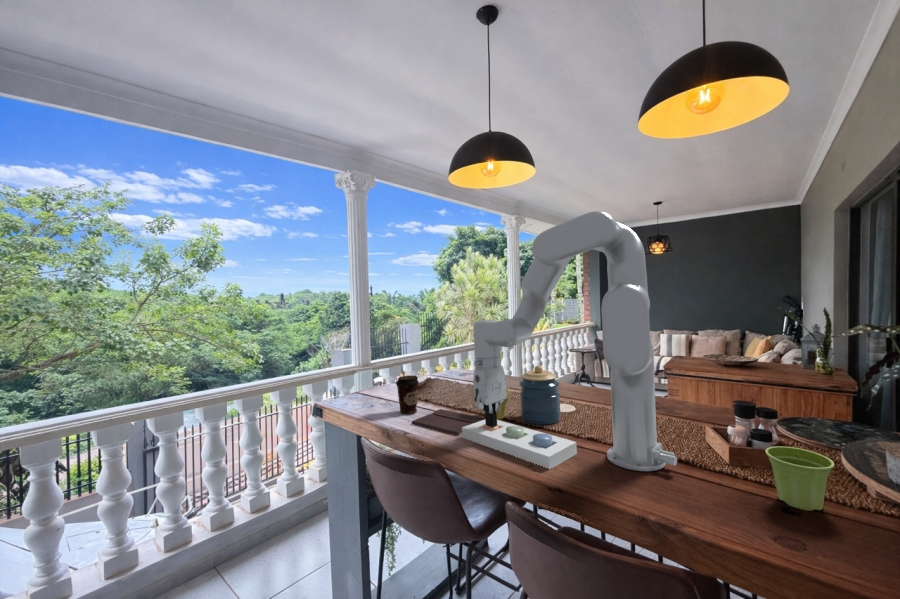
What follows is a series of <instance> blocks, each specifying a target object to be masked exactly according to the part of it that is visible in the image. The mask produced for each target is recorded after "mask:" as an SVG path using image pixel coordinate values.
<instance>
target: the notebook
mask: <svg viewBox="0 0 900 599" xmlns="http://www.w3.org/2000/svg"><path fill="white" fill-rule="evenodd" d="M482 420H485V417H482V416H477V415H472V414H466V413H463V412H457V411H453V410H446V409H442V408H439V409H437V410H435V411H434V412H431V413H429V414H426V415H423V416H421V417H419V418H416V419H414V420H412V421H411V425H413V424H414V426H418V427H421V428H426V429H428V428H429V430H432V429H433V430H432V431H436V430H437V431H436V432H441V433H444V434H449V435H452V434H453V435H452V436H456V435H457V436H456V437H459V436H461V435H462V427H465V426H468V425H471V424H473V423H476V422H479V421H482ZM460 434H461V435H460ZM458 435H459V436H458Z"/></svg>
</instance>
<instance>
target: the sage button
mask: <svg viewBox="0 0 900 599" xmlns="http://www.w3.org/2000/svg"><path fill="white" fill-rule="evenodd" d="M520 426H521V425H517V426H509V427H507V428H506V436H507V437H510V438H513V439H516V440H517V439H519V438H521V437H524V428H525V427H524V428H522V427H523V426H521V427H520Z"/></svg>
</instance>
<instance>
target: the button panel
mask: <svg viewBox="0 0 900 599" xmlns="http://www.w3.org/2000/svg"><path fill="white" fill-rule="evenodd" d="M484 424H486V422H485V420H482V421H479V422H476V423H473V424H471V425H468V426H465V427H462V434H461V438H462V439H464V438H465V439H464V440H467V439H468V441H470V440H471V441H470V442H473V443H475V442H476V443H475V444H478V443H479V445H481V446H483V447H486V446H487V448H489V447H490V448H489V449H492V448H493V450H495V451H497V450H499V451H498V452H500V451H501V452H500V453H503V452H505V453H504V454H506V453H507V454H506V455H508V454H510V455H509V456H511V455H513V456H512V457H514V456H515V457H514V458H517V457H518V458H517V459H519V458H521V459H520V460H522V459H524V460H523V461H525V460H526V461H525V462H528V461H529V462H528V463H530V462H532V463H531V464H533V463H534V464H533V465H536V464H537V465H536V466H538V465H540V466H539V467H541V466H543V467H542V468H544V467H545V469H547V468H548V469H547V470H549V469H550V470H551V468H552V469H554V468H555V467H557V466H558V465H560V464H562V463H564V462H565V461H567V460H569V459H570V458H572V457H574V456H577V454H578V450H577V441H574V440H570V439H567V438H563V437H559V436H557V435H552V434H549V433H545V432H541V431H538V430H534V429H530V428H529V427H524V426H521V425H519V426H520V427H522V428H524V437H521V438H519V439H517V440H516V439H513V438H510V437H507V436H506V428H507V427H509V426H518V425H517V424H514V423H511V422H507V421H503V420H501V419H497V424H498V425H499V429H497V430H494V431H492V432H491V431H488V430H485V429H483V425H484ZM535 434H548V435H551V436H552V446H550V447H548V448H546V449H545V448H541V447H538V446H535V445H533V435H535Z"/></svg>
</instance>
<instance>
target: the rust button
mask: <svg viewBox="0 0 900 599" xmlns="http://www.w3.org/2000/svg"><path fill="white" fill-rule="evenodd" d="M483 429H485V430H488V431H491V432H492V431H494V430H497V429H499V425H498V424H497V426H494V427H491V426H488V425H486V424H484V425H483Z"/></svg>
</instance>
